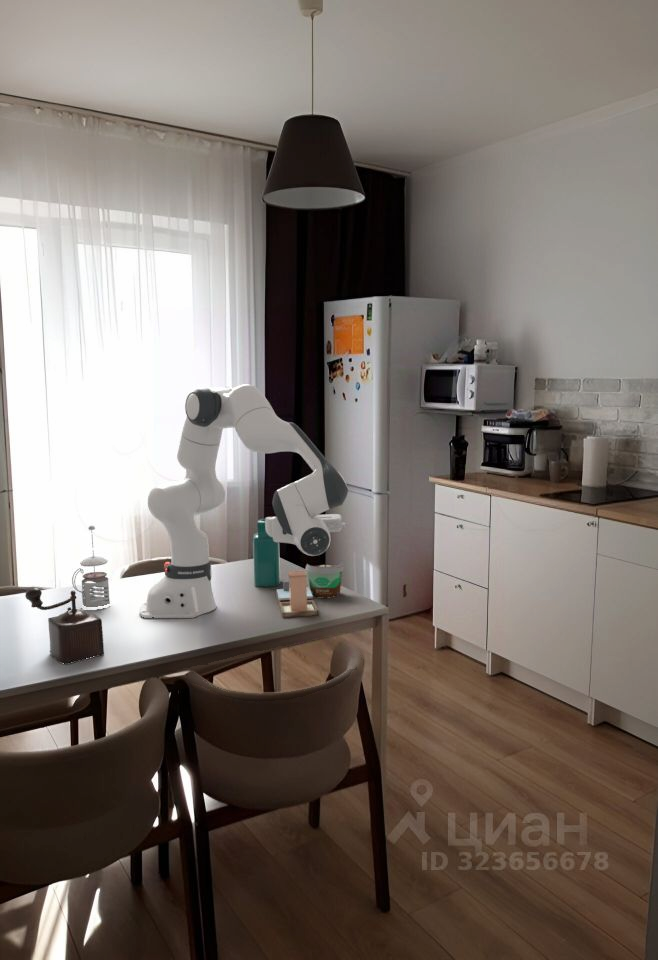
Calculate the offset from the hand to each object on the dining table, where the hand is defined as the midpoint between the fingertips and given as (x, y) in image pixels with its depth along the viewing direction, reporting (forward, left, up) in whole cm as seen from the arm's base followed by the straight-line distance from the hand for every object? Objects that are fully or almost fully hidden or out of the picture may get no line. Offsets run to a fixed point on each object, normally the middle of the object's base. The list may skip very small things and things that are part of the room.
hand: (300, 518), depth 200 cm
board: (0, +17, -30) cm, 35 cm away
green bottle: (-7, +43, -30) cm, 53 cm away
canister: (0, +12, -29) cm, 32 cm away
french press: (-61, +30, -30) cm, 74 cm away
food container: (+10, +25, -30) cm, 40 cm away
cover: (0, +23, -28) cm, 36 cm away
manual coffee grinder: (-61, -12, -30) cm, 69 cm away
